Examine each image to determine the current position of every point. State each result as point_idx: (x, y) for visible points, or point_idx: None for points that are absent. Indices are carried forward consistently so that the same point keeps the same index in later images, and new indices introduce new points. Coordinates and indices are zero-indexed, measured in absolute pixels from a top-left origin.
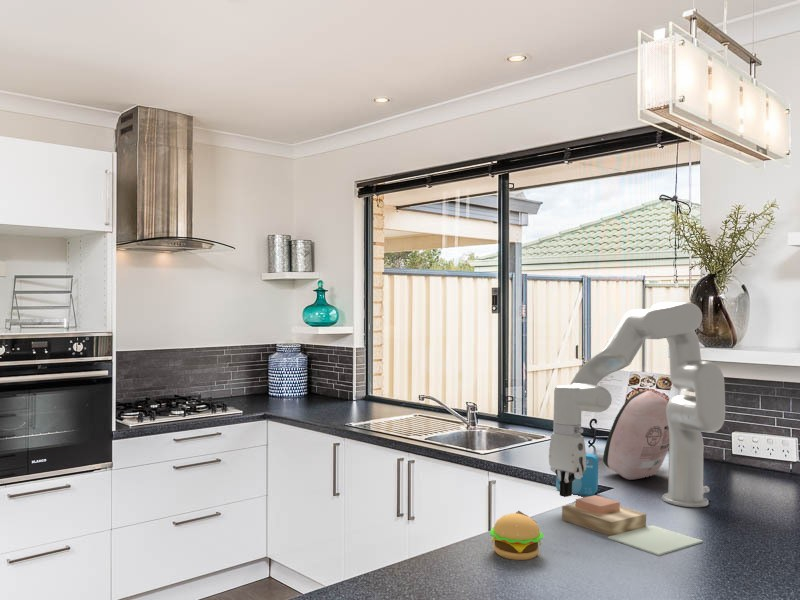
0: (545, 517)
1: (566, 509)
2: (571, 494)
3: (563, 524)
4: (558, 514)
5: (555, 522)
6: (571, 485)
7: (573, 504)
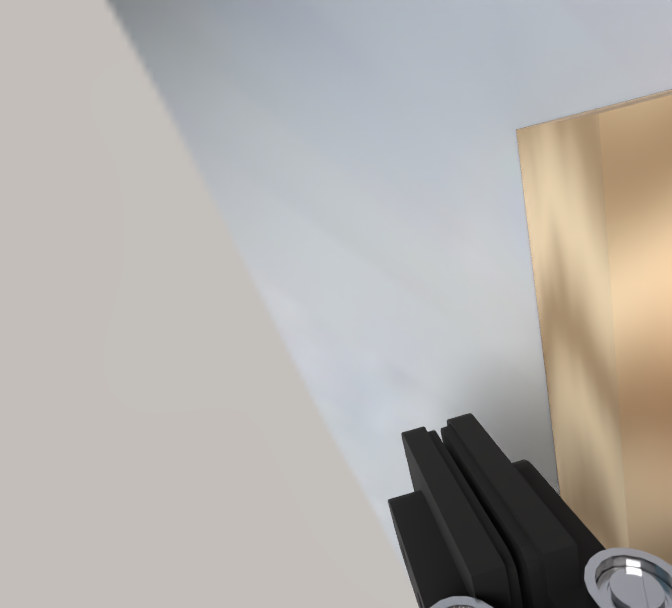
0: None
1: None
2: (471, 418)
3: None
4: None
5: None
6: (590, 539)
7: (633, 488)
